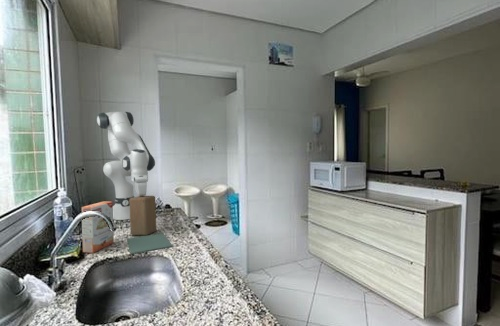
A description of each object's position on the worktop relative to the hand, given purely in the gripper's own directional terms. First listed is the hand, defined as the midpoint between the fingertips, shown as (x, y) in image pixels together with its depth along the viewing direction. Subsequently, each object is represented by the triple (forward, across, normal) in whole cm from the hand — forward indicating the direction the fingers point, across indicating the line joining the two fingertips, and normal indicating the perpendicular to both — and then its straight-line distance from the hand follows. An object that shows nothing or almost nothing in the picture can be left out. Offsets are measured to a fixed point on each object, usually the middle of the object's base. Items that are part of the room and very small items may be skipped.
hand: (140, 201), depth 152 cm
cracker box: (+16, +21, -21) cm, 34 cm away
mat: (+16, +27, 0) cm, 31 cm away
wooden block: (+16, +10, 0) cm, 19 cm away
